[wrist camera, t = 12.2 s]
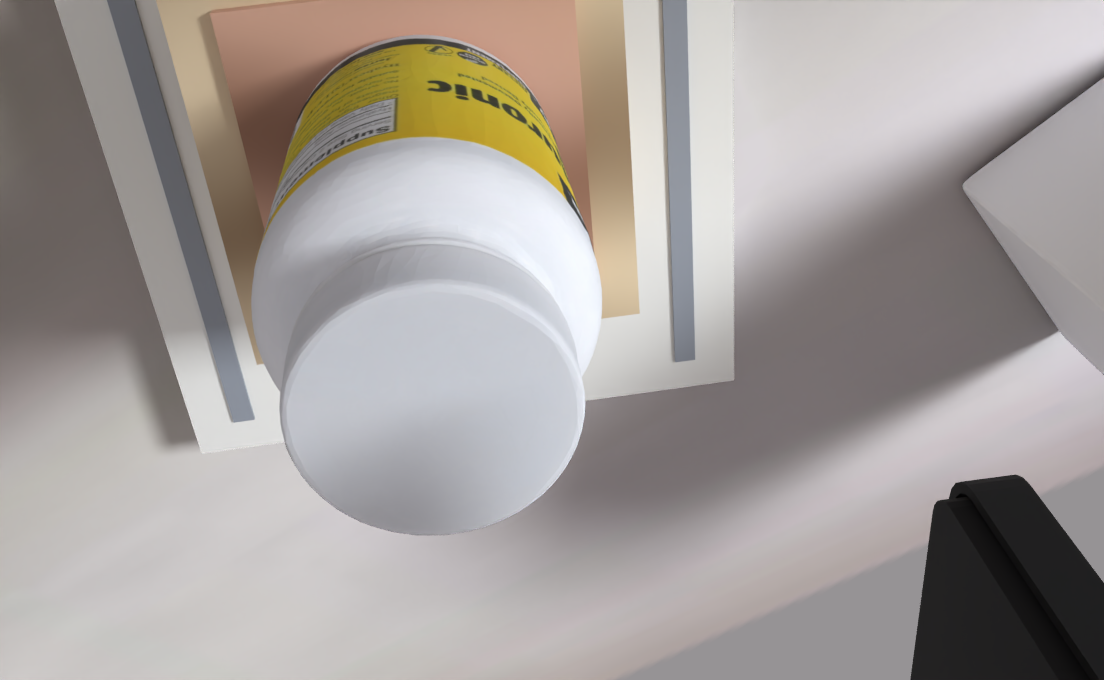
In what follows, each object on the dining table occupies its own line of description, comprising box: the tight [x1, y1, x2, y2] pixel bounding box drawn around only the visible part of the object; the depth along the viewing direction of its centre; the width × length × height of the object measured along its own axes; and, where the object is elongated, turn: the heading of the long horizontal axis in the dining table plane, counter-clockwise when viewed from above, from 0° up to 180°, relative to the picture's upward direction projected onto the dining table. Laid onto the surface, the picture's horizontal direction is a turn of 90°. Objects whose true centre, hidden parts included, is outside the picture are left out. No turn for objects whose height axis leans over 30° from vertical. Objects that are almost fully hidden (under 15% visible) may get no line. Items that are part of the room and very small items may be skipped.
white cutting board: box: [54, 0, 734, 454], centre depth 27 cm, size 20×16×2 cm
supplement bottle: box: [251, 35, 602, 535], centre depth 18 cm, size 5×5×10 cm
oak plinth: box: [156, 0, 640, 365], centre depth 24 cm, size 9×9×5 cm
